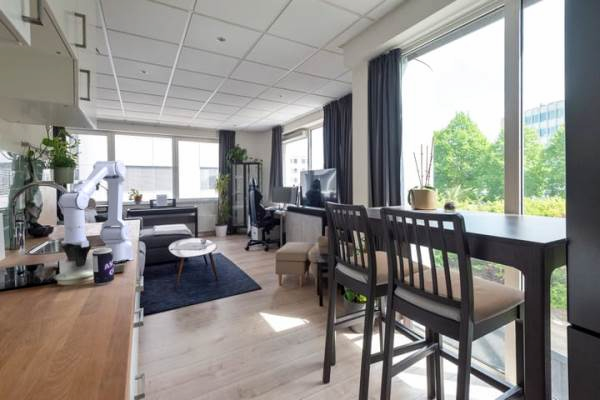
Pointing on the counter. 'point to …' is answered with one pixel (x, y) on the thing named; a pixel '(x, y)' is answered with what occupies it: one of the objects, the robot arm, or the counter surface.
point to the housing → (75, 267)
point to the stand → (75, 279)
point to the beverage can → (103, 265)
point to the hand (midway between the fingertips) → (77, 264)
